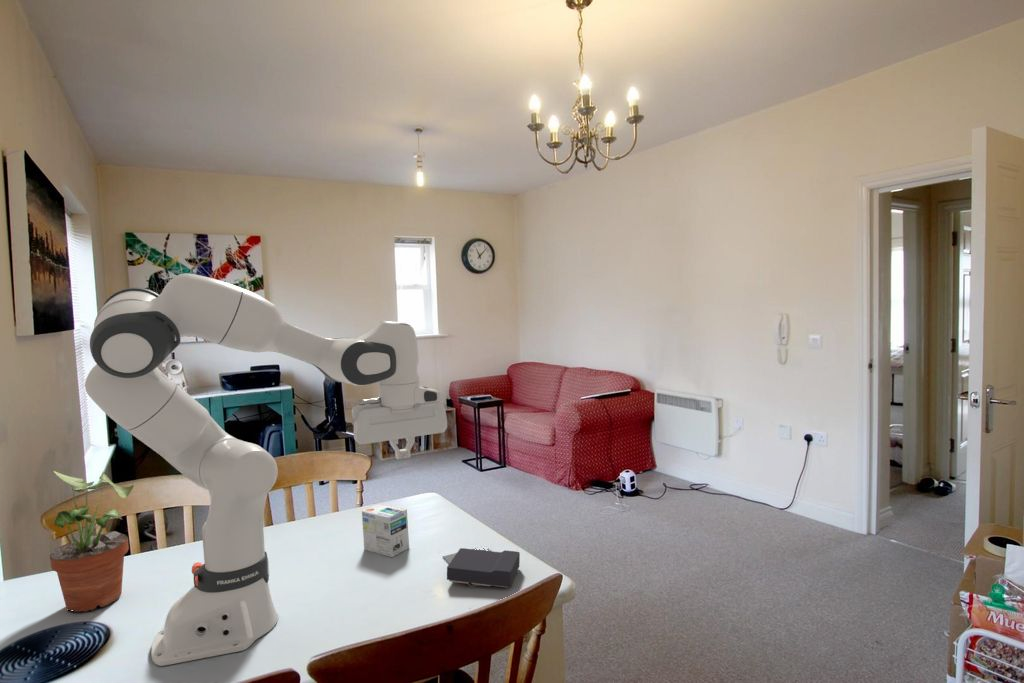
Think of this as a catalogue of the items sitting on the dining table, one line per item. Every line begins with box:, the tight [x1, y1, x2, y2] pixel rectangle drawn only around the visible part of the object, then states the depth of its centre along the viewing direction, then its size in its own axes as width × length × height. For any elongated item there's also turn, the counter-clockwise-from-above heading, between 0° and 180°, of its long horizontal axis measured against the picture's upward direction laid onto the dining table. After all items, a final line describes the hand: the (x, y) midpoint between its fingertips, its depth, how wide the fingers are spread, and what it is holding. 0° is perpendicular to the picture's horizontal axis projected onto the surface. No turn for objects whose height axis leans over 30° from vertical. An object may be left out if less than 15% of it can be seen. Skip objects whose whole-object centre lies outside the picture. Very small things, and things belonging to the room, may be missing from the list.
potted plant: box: [49, 468, 134, 612], centre depth 128 cm, size 16×15×35 cm
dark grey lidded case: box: [446, 547, 521, 588], centre depth 133 cm, size 11×4×15 cm
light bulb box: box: [361, 503, 410, 558], centre depth 151 cm, size 11×7×11 cm, turn 58°
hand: (403, 458), depth 125 cm, fingers closed
